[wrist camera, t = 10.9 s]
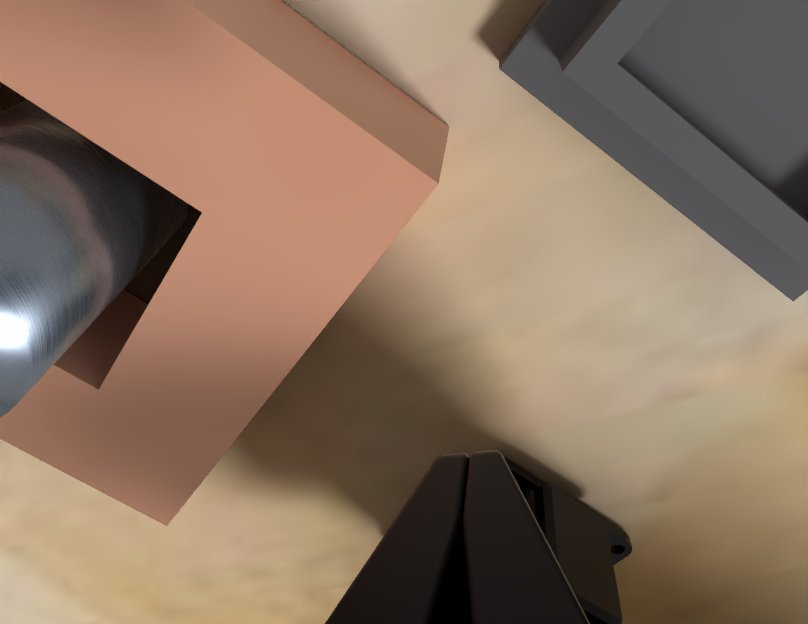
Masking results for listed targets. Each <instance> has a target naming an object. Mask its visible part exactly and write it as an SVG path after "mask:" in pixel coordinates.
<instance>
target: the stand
mask: <svg viewBox="0 0 808 624" xmlns="http://www.w3.org/2000/svg"><path fill="white" fill-rule="evenodd" d="M499 69H500V70H501V71H503V72H504V73H505V74H506V75H508V76H509V77H510V78H512V79H513V80H514V81H515V82H517V83H518V84H519V85H520V86H522V87H523V88H524V89H525V90H527V91H528V92H529V93H530V94H532V95H533V96H534V97H536V98H537V99H538V100H539V101H541V102H542V103H543V104H544V105H546V106H547V107H548V108H549V109H551V110H552V111H553V112H554V113H556V114H557V115H558V116H560V117H561V118H562V119H563V120H565V121H566V122H567V123H568V124H570V125H571V126H572V127H573V128H575V129H576V130H577V131H578V132H580V133H581V134H582V135H584V136H585V137H586V138H587V139H589V140H590V141H591V142H592V143H594V144H595V145H596V146H597V147H599V148H600V149H601V150H602V151H604V152H605V153H606V154H608V155H609V156H610V157H611V158H613V159H614V160H615V161H616V162H618V163H619V164H620V165H621V166H623V167H624V168H625V169H626V170H628V171H629V172H630V173H632V174H633V175H634V176H635V177H637V178H638V179H639V180H640V181H642V182H643V183H644V184H645V185H647V186H648V187H649V188H650V189H652V190H653V191H654V192H656V193H657V194H658V195H659V196H661V197H662V198H663V199H664V200H666V201H667V202H668V203H669V204H671V205H672V206H673V207H674V208H676V209H677V210H678V211H680V212H681V213H682V214H683V215H685V216H686V217H687V218H688V219H690V220H691V221H692V222H693V223H695V224H696V225H697V226H699V227H700V228H701V229H702V230H704V231H705V232H706V233H707V234H709V235H710V236H711V237H712V238H714V239H715V240H716V241H717V242H719V243H720V244H721V245H723V246H724V247H725V248H726V249H728V250H729V251H730V252H731V253H733V254H734V255H735V256H736V257H738V258H739V259H740V260H741V261H743V262H744V263H745V264H747V265H748V266H749V267H750V268H752V269H753V270H754V271H755V272H757V273H758V274H759V275H760V276H762V277H763V278H764V279H765V280H767V281H768V282H769V283H771V284H772V285H773V286H774V287H776V288H777V289H778V290H779V291H781V292H782V293H783V294H784V295H786V296H787V297H788V298H789V299H791V300H792V301H794V300H795V299H797V298H798V297H799V296H801V295H802V294H803V293H804V292H806V291H807V290H808V0H546V1H545V2H544V3H543V5H542V6H541V7H540V9H539V10H538V11H537V13H536V14H535V15H534V16H533V18H532V19H531V20H530V22H529V23H528V24H527V26H526V27H525V28H524V30H523V31H522V32H521V34H520V35H519V36H518V37H517V39H516V40H515V41H514V43H513V44H512V45H511V47H510V48H509V49H508V51H507V52H506V53H505V55H504V56H503V57H502V58H501V60H500V61H499Z"/></svg>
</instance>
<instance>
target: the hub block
mask: <svg viewBox="0 0 808 624" xmlns="http://www.w3.org/2000/svg"><path fill="white" fill-rule="evenodd" d="M2 84H5V85H6V86H8V87H9V88H11V89H12V90H14V91H15V92H17V93H19V94H20V95H22V96H23V97H25V98H26V99H28V100H29V101H31V102H32V103H34V104H35V105H37V106H39V107H40V108H42V109H43V110H45V111H46V112H48V113H49V114H51V115H52V116H54V117H56V118H57V119H59V120H60V121H62V122H63V123H65V124H66V125H68V126H69V127H71V128H72V129H74V130H76V131H77V132H79V133H80V134H82V135H83V136H85V137H86V138H88V139H89V140H91V141H92V142H94V143H96V144H97V145H99V146H100V147H102V148H103V149H105V150H106V151H108V152H109V153H111V154H113V155H114V156H116V157H117V158H119V159H120V160H122V161H123V162H125V163H126V164H128V165H129V166H131V167H133V168H134V169H136V170H137V171H139V172H140V173H142V174H143V175H145V176H146V177H148V178H149V179H151V180H153V181H154V182H156V183H157V184H159V185H160V186H162V187H163V188H165V189H166V190H168V191H170V192H171V193H173V194H174V195H176V196H177V197H179V198H180V199H182V200H183V201H185V202H186V203H188V204H190V205H191V206H193V207H194V208H196V209H197V210H199V211H200V212H202V214H201V216H200V217H199V219H198V221H197V222H196V224H195V226H194V228H193V229H192V231H191V233H190V234H189V236H188V238H187V239H186V241H185V243H184V245H183V246H182V248H181V250H180V251H179V253H178V255H177V257H176V258H175V260H174V262H173V263H172V265H171V267H170V269H169V270H168V272H167V274H166V275H165V277H164V279H163V281H162V282H161V284H160V286H159V287H158V289H157V291H156V293H155V294H154V296H153V298H152V299H151V301H150V303H149V304H147V303H145V302H143V301H142V300H140V299H138V298H137V297H135V296H133V295H132V294H130V293H128V292H127V291H125V290H122V291H121V292H120V293H119V295H118V296H117V297H116V298H115V299H114V300H113V301H112V302H111V303H110V304H109V305H108V306H107V307H106V309H105V310H104V311H103V312H102V313H101V314H100V315H99V316H98V317H97V318H96V319H95V320H94V321H93V323H92V324H91V325H90V326H89V327H88V328H87V329H86V330H85V331H84V332H83V333H82V334H81V335H80V337H79V338H78V339H77V340H76V341H75V342H74V343H73V344H72V345H71V346H70V347H69V348H68V349H67V351H66V352H65V353H64V354H63V355H62V356H61V357H60V358H59V359H58V360H57V361H56V362H55V363H54V365H53V366H52V367H51V368H50V369H49V370H48V371H47V372H46V373H45V374H44V375H43V376H42V377H41V379H40V380H39V381H38V382H37V383H36V384H35V385H34V386H33V387H32V388H31V389H30V390H29V392H28V393H27V394H26V395H25V396H24V397H23V398H22V399H21V400H20V401H19V402H18V403H17V404H16V405H15V406H14V407H13V408H12V409H11V410H10V411H9V412H8V413H6V414H5V415H3V416H2V417H0V439H2V440H4V441H5V442H7V443H9V444H11V445H13V446H15V447H17V448H19V449H21V450H23V451H25V452H26V453H28V454H30V455H32V456H34V457H36V458H38V459H40V460H42V461H44V462H45V463H47V464H49V465H51V466H53V467H55V468H57V469H59V470H61V471H63V472H65V473H66V474H68V475H70V476H72V477H74V478H76V479H78V480H80V481H82V482H84V483H86V484H87V485H89V486H91V487H93V488H95V489H97V490H99V491H101V492H103V493H105V494H107V495H108V496H110V497H112V498H114V499H116V500H118V501H120V502H122V503H124V504H126V505H127V506H129V507H131V508H133V509H135V510H137V511H139V512H141V513H143V514H145V515H147V516H148V517H150V518H152V519H154V520H156V521H158V522H160V523H162V524H164V525H166V526H167V525H168V524H169V523H170V521H171V520H172V519H173V518H174V516H175V515H176V514H177V513H178V511H179V510H180V509H181V508H182V506H183V505H184V504H185V503H186V501H187V500H188V499H189V498H190V496H191V495H192V494H193V492H194V491H195V490H196V489H197V487H198V486H199V485H200V484H201V482H202V481H203V480H204V479H205V477H206V476H207V475H208V474H209V472H210V471H211V470H212V469H213V467H214V466H215V465H216V463H217V462H218V461H219V460H220V458H221V457H222V456H223V455H224V453H225V452H226V451H227V450H228V448H229V447H230V446H231V445H232V443H233V442H234V441H235V440H236V438H237V437H238V436H239V434H240V433H241V432H242V431H243V429H244V428H245V427H246V426H247V424H248V423H249V422H250V421H251V419H252V418H253V417H254V416H255V414H256V413H257V412H258V410H259V409H260V408H261V407H262V405H263V404H264V403H265V402H266V400H267V399H268V398H269V397H270V395H271V394H272V393H273V392H274V390H275V389H276V388H277V387H278V385H279V384H280V383H281V381H282V380H283V379H284V378H285V376H286V375H287V374H288V373H289V371H290V370H291V369H292V368H293V366H294V365H295V364H296V363H297V361H298V360H299V359H300V358H301V356H302V355H303V354H304V352H305V351H306V350H307V349H308V347H309V346H310V345H311V344H312V342H313V341H314V340H315V339H316V337H317V336H318V335H319V334H320V332H321V331H322V330H323V329H324V327H325V326H326V325H327V323H328V322H329V321H330V320H331V318H332V317H333V316H334V315H335V313H336V312H337V311H338V310H339V308H340V307H341V306H342V305H343V303H344V302H345V301H346V300H347V298H348V297H349V296H350V294H351V293H352V292H353V291H354V289H355V288H356V287H357V286H358V284H359V283H360V282H361V281H362V279H363V278H364V277H365V276H366V274H367V273H368V272H369V271H370V269H371V268H372V267H373V265H374V264H375V263H376V262H377V260H378V259H379V258H380V257H381V255H382V254H383V253H384V252H385V250H386V249H387V248H388V247H389V245H390V244H391V243H392V242H393V240H394V239H395V238H396V236H397V235H398V234H399V233H400V231H401V230H402V229H403V228H404V226H405V225H406V224H407V223H408V221H409V220H410V219H411V218H412V216H413V215H414V214H415V213H416V211H417V210H418V209H419V207H420V206H421V205H422V204H423V202H424V201H425V200H426V199H427V197H428V196H429V195H430V194H431V192H432V191H433V190H434V189H435V187H436V186H437V185H438V183H439V178H440V173H441V168H442V162H443V157H444V152H445V147H446V142H447V137H448V131H449V126H448V125H446V124H445V123H444V122H442V121H441V120H440V119H438V118H437V117H436V116H434V115H433V114H432V113H430V112H429V111H428V110H426V109H425V108H424V107H422V106H421V105H420V104H418V103H417V102H416V101H414V100H413V99H412V98H410V97H409V96H408V95H406V94H405V93H404V92H402V91H401V90H400V89H398V88H397V87H396V86H394V85H393V84H392V83H390V82H389V81H388V80H386V79H385V78H384V77H382V76H381V75H380V74H378V73H377V72H376V71H374V70H373V69H372V68H370V67H369V66H368V65H366V64H365V63H364V62H362V61H361V60H360V59H358V58H357V57H356V56H354V55H353V54H352V53H350V52H349V51H348V50H346V49H345V48H344V47H342V46H341V45H340V44H338V43H337V42H336V41H334V40H333V39H332V38H330V37H329V36H328V35H326V34H325V33H324V32H322V31H321V30H320V29H318V28H317V27H316V26H314V25H313V24H312V23H310V22H309V21H308V20H306V19H305V18H304V17H302V16H301V15H300V14H298V13H297V12H296V11H294V10H293V9H292V8H290V7H289V6H288V5H286V4H285V3H284V2H282V1H281V0H0V90H1V87H2Z"/></svg>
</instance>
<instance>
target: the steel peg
mask: <svg viewBox="0 0 808 624" xmlns="http://www.w3.org/2000/svg"><path fill="white" fill-rule="evenodd" d="M189 207H190V204H188V203H186V202H185V201H183V200H182V199H180V198H179V197H177V196H176V195H174V194H173V193H171V192H170V191H168V190H166V189H165V188H163V187H162V186H160V185H159V184H157V183H156V182H154V181H153V180H151V179H149V178H148V177H146V176H145V175H143V174H142V173H140V172H139V171H137V170H136V169H134V168H133V167H131V166H129V165H128V164H126V163H125V162H123V161H122V160H120V159H119V158H117V157H116V156H114V155H113V154H111V153H109V152H108V151H106V150H105V149H103V148H102V147H100V146H99V145H97V144H96V143H94V142H92V141H91V140H89V139H88V138H86V137H85V136H83V135H82V134H80V133H79V132H77V131H76V130H74V129H72V128H71V127H69V126H68V125H66V124H65V123H63V122H62V121H60V120H59V119H57V118H56V117H54V116H52V115H51V114H49V113H48V112H46V111H45V110H43V109H42V108H40V107H39V106H37V105H35V104H34V103H32V102H31V101H29V100H28V99H27V100H25V101H22V102H20V103H18V104H16V105H14V106H11V107H9V108H7V109H5V110H2V111H0V417H2V416H3V415H5V414H6V413H8V412H9V411H10V410H11V409H12V408H13V407H14V406H15V405H16V404H17V403H18V402H19V401H20V400H21V399H22V398H23V397H24V396H25V395H26V394H27V393H28V392H29V390H30V389H31V388H32V387H33V386H34V385H35V384H36V383H37V382H38V381H39V380H40V379H41V377H42V376H43V375H44V374H45V373H46V372H47V371H48V370H49V369H50V368H51V367H52V366H53V365H54V363H55V362H56V361H57V360H58V359H59V358H60V357H61V356H62V355H63V354H64V353H65V352H66V351H67V349H68V348H69V347H70V346H71V345H72V344H73V343H74V342H75V341H76V340H77V339H78V338H79V337H80V335H81V334H82V333H83V332H84V331H85V330H86V329H87V328H88V327H89V326H90V325H91V324H92V323H93V321H94V320H95V319H96V318H97V317H98V316H99V315H100V314H101V313H102V312H103V311H104V310H105V309H106V307H107V306H108V305H109V304H110V303H111V302H112V301H113V300H114V299H115V298H116V297H117V296H118V295H119V293H120V292H121V291H122V290H123V289H124V288H125V287H126V286H127V285H128V284H129V283H130V282H131V281H132V279H133V278H134V277H135V276H136V275H137V274H138V273H139V272H140V271H141V270H142V269H143V268H144V266H145V265H146V264H147V263H148V262H149V261H150V260H151V259H152V258H153V257H154V256H155V255H156V254H157V252H158V251H159V250H160V249H161V248H162V247H163V246H164V245H165V244H166V243H167V242H168V241H169V240H170V238H171V237H172V236H173V235H174V234H175V233H176V232H177V231H178V230H179V228H180V227H181V225H182V224H183V222H184V220H185V218H186V216H187V214H188V211H189Z"/></svg>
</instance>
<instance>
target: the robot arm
mask: <svg viewBox="0 0 808 624" xmlns="http://www.w3.org/2000/svg"><path fill="white" fill-rule="evenodd" d="M618 544H619V545H618ZM631 551H632V546H631V541H630V538H629V536H628V535H627V534H626V533H625V532H623V531H622V530H620V529H618V528H617V527H615V526H614V525H612V524H610V523H609V522H607V521H606V520H605V519H604V518H603V517H601V516H599V515H598V514H596V513H595V512H593V511H591V510H590V509H588V508H587V507H585V506H584V505H582V504H580V503H579V502H577V501H576V500H574V499H572V498H571V497H569V496H568V495H566V494H564V493H563V492H561V491H560V490H558V489H557V488H555V487H553V486H550V485H548V484H547V483H545V482H544V481H542V480H540V479H539V478H537V477H536V476H534V475H533V474H531V473H529V472H528V471H526V470H525V469H523V468H521V467H520V466H518V465H517V464H515V463H513V462H512V461H510V460H509V459H507V458H505V457H503V455H502V453H501V452H500V451H498V450H490V451H479V452H473V453H472V454H471V455H470V457H469V455H468V454H466V453H456V454H445V455H440V456H439V457H437V459H436V460H435V461H434V463H433V464H432V466H431V467H430V469H429V470H428V472H427V473H426V475H425V476H424V478H423V479H422V481H421V482H420V484H419V485H418V487H417V488H416V489H415V491H414V492H413V494H412V495H411V497H410V498H409V500H408V501H407V503H406V504H405V506H404V507H403V509H402V510H401V512H400V513H399V515H398V516H397V518H396V519H395V521H394V522H393V524H392V525H391V527H390V528H389V529H388V531H387V532H386V534H385V535H384V537H383V538H382V540H381V541H380V543H379V544H378V546H377V547H376V549H375V550H374V552H373V553H372V555H371V556H370V558H369V559H368V561H367V562H366V564H365V565H364V567H363V568H362V570H361V571H360V572H359V574H358V575H357V577H356V578H355V580H354V581H353V583H352V584H351V586H350V587H349V589H348V590H347V592H346V593H345V595H344V596H343V598H342V599H341V601H340V602H339V604H338V605H337V607H336V608H335V610H334V611H333V612H332V614H331V615H330V617H329V618H328V620H327V621H326V623H325V624H622V613H621V607H620V602H619V596H618V590H617V584H616V579H615V573H614V567H613V565H615V564H616V563H618V562H619V561H621V560H622V559H624V558H625V557H627V556H628V555H629V554H630V553H631Z"/></svg>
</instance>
